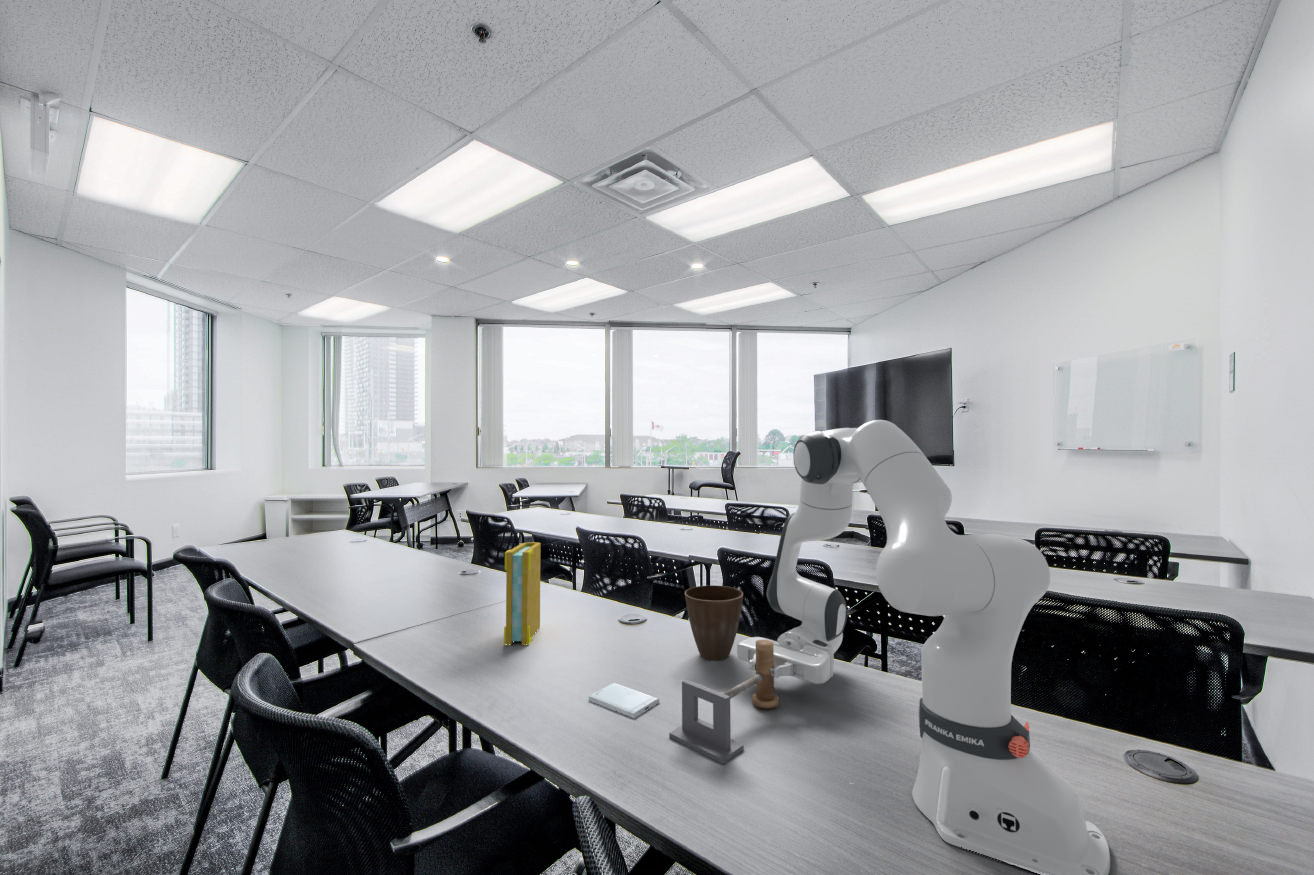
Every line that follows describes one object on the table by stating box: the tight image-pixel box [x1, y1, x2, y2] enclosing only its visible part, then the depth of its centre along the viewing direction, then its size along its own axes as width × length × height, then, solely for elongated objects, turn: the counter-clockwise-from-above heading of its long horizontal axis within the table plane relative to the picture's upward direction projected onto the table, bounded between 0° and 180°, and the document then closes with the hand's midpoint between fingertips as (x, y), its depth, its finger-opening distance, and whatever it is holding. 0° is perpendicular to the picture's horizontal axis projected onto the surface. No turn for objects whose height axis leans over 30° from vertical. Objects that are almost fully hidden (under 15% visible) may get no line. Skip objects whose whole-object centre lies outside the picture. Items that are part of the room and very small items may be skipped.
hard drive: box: [588, 682, 660, 719], centre depth 108 cm, size 2×8×12 cm
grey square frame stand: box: [668, 679, 745, 765], centre depth 92 cm, size 12×6×10 cm, turn 46°
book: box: [503, 541, 541, 646], centre depth 149 cm, size 17×7×25 cm, turn 179°
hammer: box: [722, 640, 779, 710], centre depth 102 cm, size 5×17×12 cm, turn 136°
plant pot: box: [684, 584, 744, 662], centre depth 133 cm, size 15×15×16 cm
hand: (762, 669), depth 105 cm, fingers closed on hammer, 4 cm apart
